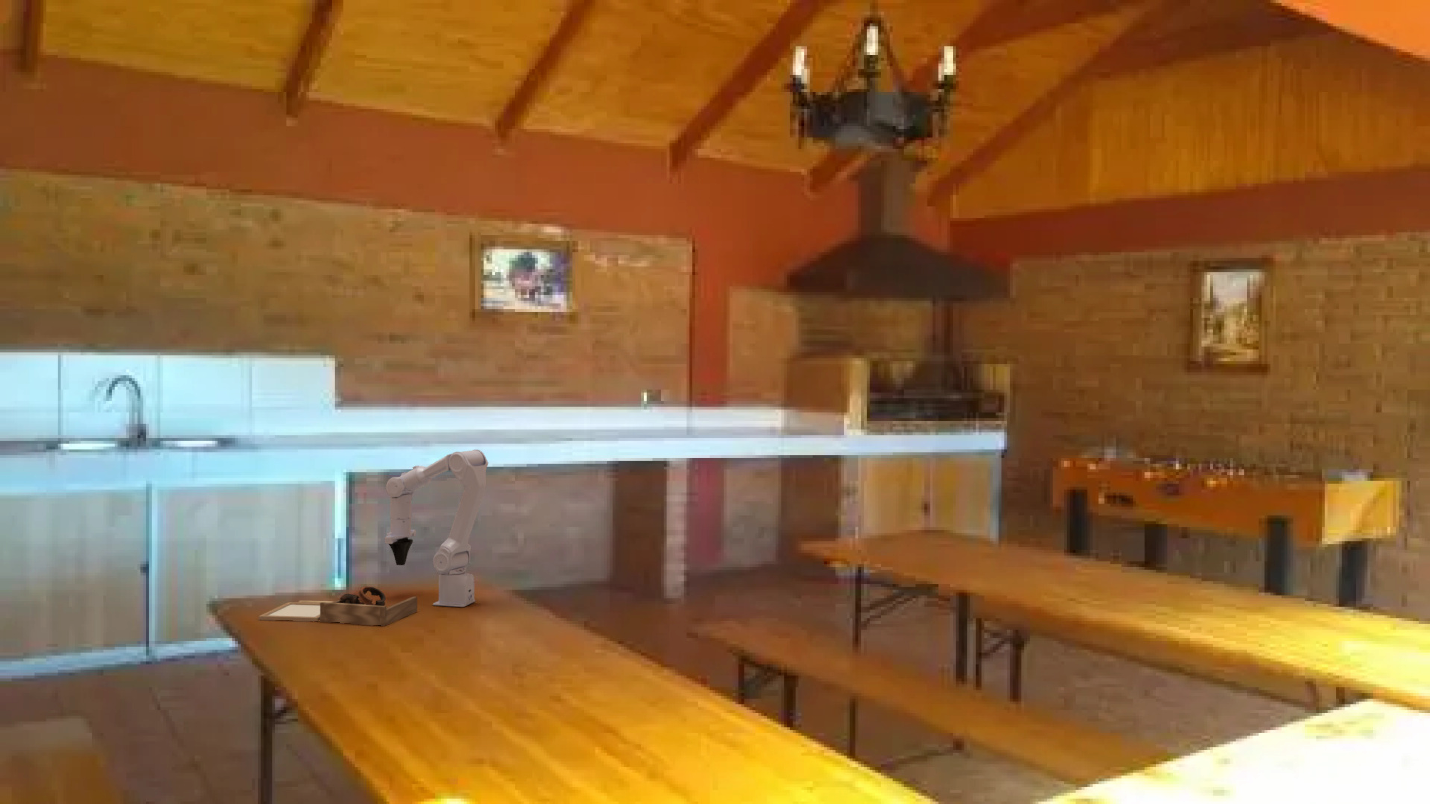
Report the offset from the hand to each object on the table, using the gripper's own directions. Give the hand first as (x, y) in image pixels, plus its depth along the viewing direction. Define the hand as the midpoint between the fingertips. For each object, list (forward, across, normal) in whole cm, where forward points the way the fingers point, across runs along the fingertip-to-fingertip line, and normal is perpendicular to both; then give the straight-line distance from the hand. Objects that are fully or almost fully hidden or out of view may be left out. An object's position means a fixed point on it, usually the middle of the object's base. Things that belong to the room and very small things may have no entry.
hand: (400, 564), depth 325 cm
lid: (+9, +25, -15) cm, 30 cm away
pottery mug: (+10, +22, 0) cm, 24 cm away
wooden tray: (+9, +24, +4) cm, 26 cm away
